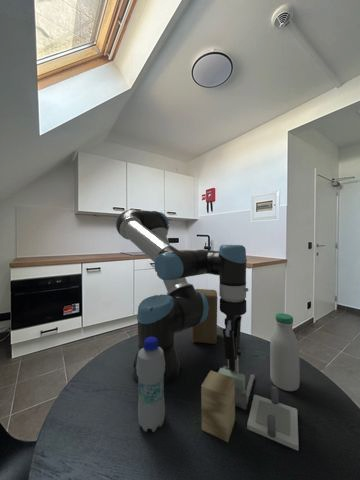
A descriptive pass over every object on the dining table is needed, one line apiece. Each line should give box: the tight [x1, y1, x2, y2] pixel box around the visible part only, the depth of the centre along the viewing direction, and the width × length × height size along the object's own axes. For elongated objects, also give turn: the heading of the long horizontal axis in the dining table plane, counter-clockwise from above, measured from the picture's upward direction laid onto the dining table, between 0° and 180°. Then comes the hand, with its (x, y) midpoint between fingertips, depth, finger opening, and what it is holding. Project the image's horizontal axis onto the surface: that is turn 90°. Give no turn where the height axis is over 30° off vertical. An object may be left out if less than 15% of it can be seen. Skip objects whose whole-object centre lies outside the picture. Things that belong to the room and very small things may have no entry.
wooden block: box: [191, 288, 218, 345], centre depth 87 cm, size 10×10×20 cm
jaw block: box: [200, 370, 236, 443], centre depth 47 cm, size 6×6×10 cm
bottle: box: [136, 337, 166, 433], centre depth 47 cm, size 7×7×20 cm
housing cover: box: [217, 367, 246, 391], centre depth 57 cm, size 7×3×5 cm, turn 61°
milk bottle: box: [269, 312, 301, 392], centre depth 60 cm, size 8×8×20 cm
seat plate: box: [246, 385, 299, 452], centre depth 48 cm, size 10×11×4 cm
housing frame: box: [222, 365, 255, 411], centre depth 59 cm, size 10×13×4 cm
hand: (233, 378), depth 59 cm, fingers closed
